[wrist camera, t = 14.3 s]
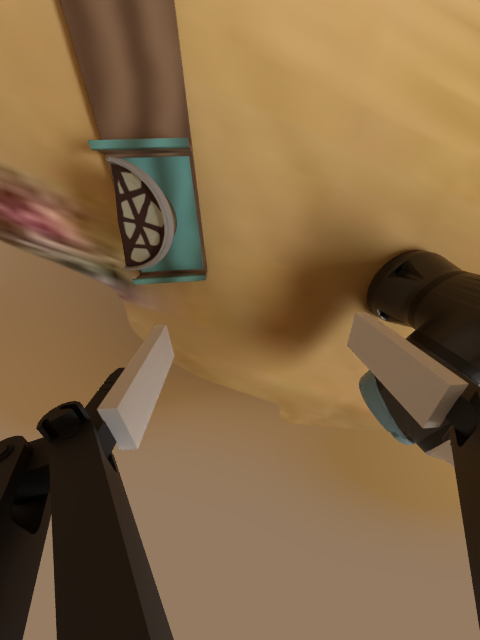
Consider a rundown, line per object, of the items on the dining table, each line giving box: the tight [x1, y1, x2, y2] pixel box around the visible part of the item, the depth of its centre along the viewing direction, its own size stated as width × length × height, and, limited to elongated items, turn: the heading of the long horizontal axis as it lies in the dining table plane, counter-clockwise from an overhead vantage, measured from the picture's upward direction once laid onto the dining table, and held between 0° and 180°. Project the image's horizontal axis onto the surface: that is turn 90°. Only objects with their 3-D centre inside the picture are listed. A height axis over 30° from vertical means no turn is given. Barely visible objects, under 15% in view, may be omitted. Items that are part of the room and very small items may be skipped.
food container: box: [105, 157, 177, 271], centre depth 27 cm, size 12×6×10 cm, turn 172°
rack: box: [60, 0, 207, 285], centre depth 26 cm, size 12×36×5 cm, turn 2°
